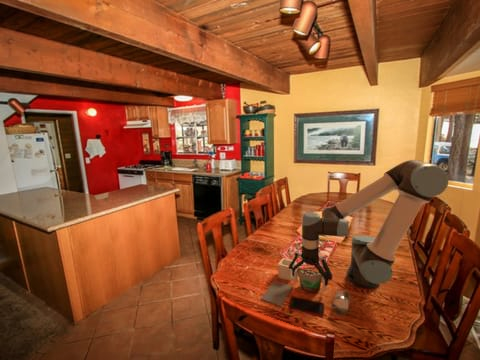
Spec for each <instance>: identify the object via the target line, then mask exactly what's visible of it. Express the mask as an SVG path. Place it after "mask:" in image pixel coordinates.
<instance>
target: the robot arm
mask: <svg viewBox="0 0 480 360" xmlns="http://www.w3.org/2000/svg"><path fill="white" fill-rule="evenodd" d="M448 185H449V176H448V174H447V171H445V170H444V168H442V167H440V166H438V165H435V164H434V163H431V162H430V163H429V162H426V161H425V162H424V161H422V160H419V159H418V160H417V159H409V160H406V161H403V162H402V163H399V164H398V165H395V166H394V167H392V168H390V169H388V170H387V171H386V172H384V174H383V175H382V176H381V177H380V178H378V179H377V180H375V181H373V182H371V183H370V184H368V185H367V186H365V187H363V188H361V189H360V190H358V191H357V192H355V193H353V194H351V195H349V196H348V197H346V198H345V199H343V200H342V201H340V202H338V203H336V204H335V205H332V206H327V207H324V209H322V212H321V217H320V215H319V213H316V212H306V213H303V215H302V220H301V252H300V251H298V250H297V251H296V252H295V253H294V258H293V259H292V260H293V261H292V262H291V264H290V265H289V269H292V275H293V276H294V277H293V282H294V283H293V284H295V285H296V283H297V282H298V272H297V271H298V268H300V267H301V266H302V265H303V264H306V265H310V266H314V268H316V270H317V272H320V273H321V275H322V276H323V277H322V278H323V279H322V293H325V292H326V290H327V288H326V287H327V286H328V285H329V281H332V280H333V277H334V276H333V274H332V272H331V271H332V270H330V267H329V265H328V263H327V259H326V257H325V256H324V257H320V256H319V255H320V254H319V253H320V251H319V250H320V249H319V248H320V247H319V246H320V236H328V237H347V236H348V235H349V232H350V231H349V230H350V227H349V222H348V220H347V219H346V218H347V217H350V216H351V215H353V214H355V213H356V212H358V211H359V210H362V209H363V208H365V207H367V206H369V205H371V204H372V203H373V202H375V201H377V200H379V199H381V198H383V197H384V196H386V195H388V194H390V193H392V192H393V191H397V192H398V193H399V194H398V196H397V198H395V199H396V200H395V202H393V204H392V207H391V209H390V211H389V212H388V214H387V216H386V218H385V219H384V221H383V222H382V225H381V227H380V228H379V230H378V232H377V234H376V236H375V237H374V236H370V235H361V234H358V235H354V236H353V237H352V239H351V242H350V243H351V251H350V253H351V254H350V255H351V257H350V264H349V266H348V268H347V271H346V279H347V281H348V282H349V283H351V284H352V285H353V286H355V287H358V288H360V289H364V290H365V289H366V290H373V289H374V290H375V289H377V288H378V287H379V286H380V285H381V284H386V283H388V282H389V281H390V280H391V279H392V278H393V273H394V272H393V269H392V266H393V264H394V263H395V261H396V256H395V253H396V251H397V249H398V247H399V245H400V244H401V242H402V241H403V239H404V237H405V235H406V234H407V232H408V230H409V228H410V227H411V226H412V224H413V222H414V220H416V217H417V216H418V213H419V212H420V210H421V209H422V207H423V205H424V204H428V203H431V201H432V200H433V198H434V197H437V196H438V195H441V194H442V193H444V192H445V190H447V188H448ZM298 258H301V260H300V261H299V262H298V263H296V261H297V259H298ZM294 263H295V266H293V264H294Z"/></svg>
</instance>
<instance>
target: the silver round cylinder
mask: <svg viewBox="0 0 480 360" xmlns="http://www.w3.org/2000/svg"><path fill="white" fill-rule="evenodd" d="M350 302H351V296H350V294H349V293H348V292H347V291H344V290H338V291H336V293H335V296H334V299H333V302H332V305H331V307H332V310H333V311H334V313H335V314H336V315H338V316H339V315H340V316H345V315H347V314H348V311H349V307H350Z"/></svg>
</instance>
